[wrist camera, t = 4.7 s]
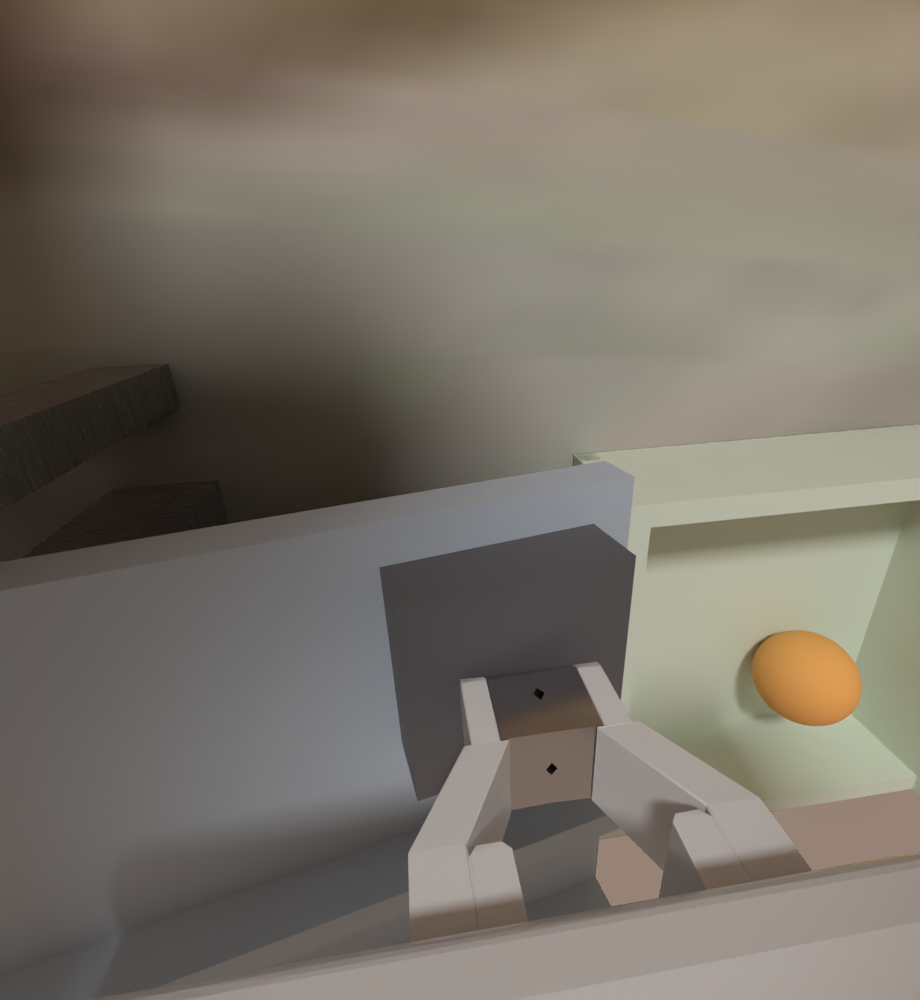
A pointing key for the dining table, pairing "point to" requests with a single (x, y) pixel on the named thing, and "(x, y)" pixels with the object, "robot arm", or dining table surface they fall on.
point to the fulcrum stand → (83, 434)
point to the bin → (777, 603)
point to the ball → (806, 678)
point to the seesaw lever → (281, 724)
